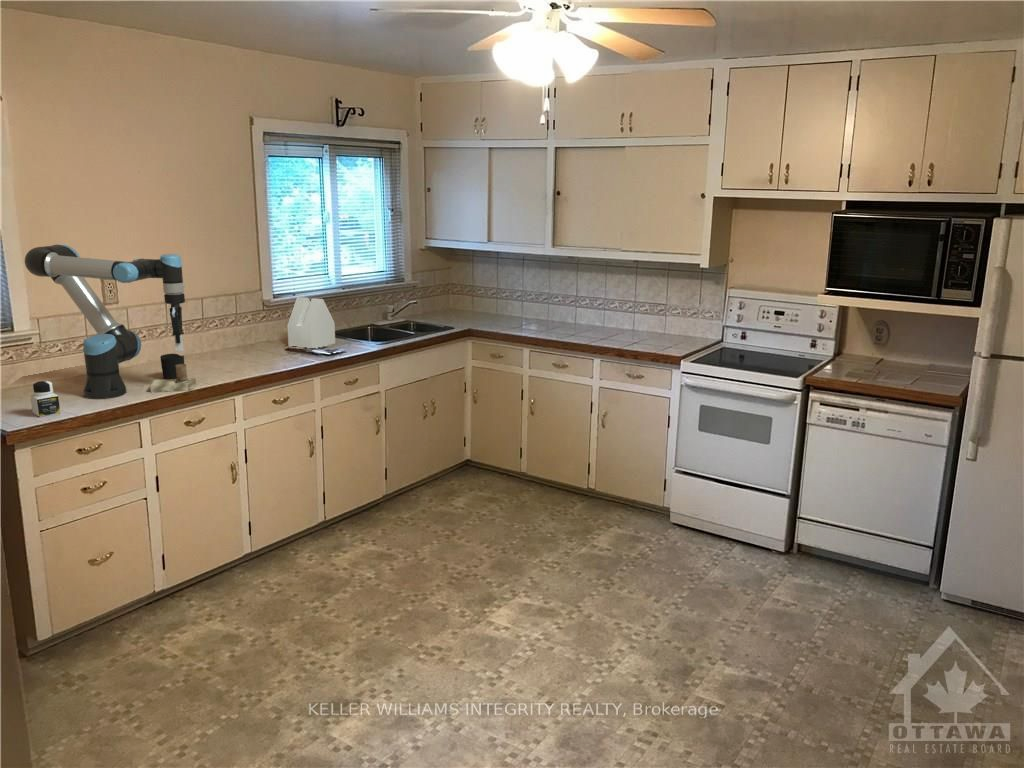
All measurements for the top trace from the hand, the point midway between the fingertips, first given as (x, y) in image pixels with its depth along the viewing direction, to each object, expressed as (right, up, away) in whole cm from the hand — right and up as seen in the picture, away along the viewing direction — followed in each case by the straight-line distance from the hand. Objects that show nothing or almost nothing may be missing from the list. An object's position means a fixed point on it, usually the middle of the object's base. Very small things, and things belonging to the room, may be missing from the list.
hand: (179, 350), depth 319 cm
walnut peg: (0, -16, +4) cm, 16 cm away
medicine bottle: (-35, -25, -33) cm, 54 cm away
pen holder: (-11, -11, +20) cm, 26 cm away
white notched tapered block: (+31, +7, +93) cm, 98 cm away
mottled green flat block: (-4, -16, +3) cm, 17 cm away
